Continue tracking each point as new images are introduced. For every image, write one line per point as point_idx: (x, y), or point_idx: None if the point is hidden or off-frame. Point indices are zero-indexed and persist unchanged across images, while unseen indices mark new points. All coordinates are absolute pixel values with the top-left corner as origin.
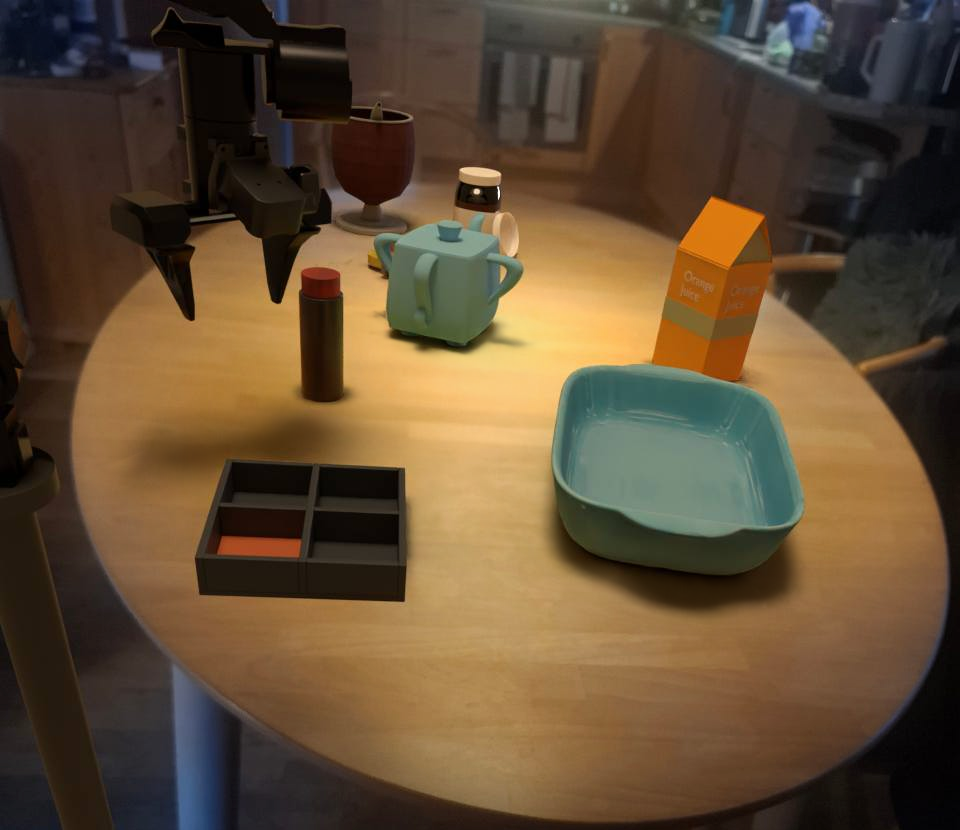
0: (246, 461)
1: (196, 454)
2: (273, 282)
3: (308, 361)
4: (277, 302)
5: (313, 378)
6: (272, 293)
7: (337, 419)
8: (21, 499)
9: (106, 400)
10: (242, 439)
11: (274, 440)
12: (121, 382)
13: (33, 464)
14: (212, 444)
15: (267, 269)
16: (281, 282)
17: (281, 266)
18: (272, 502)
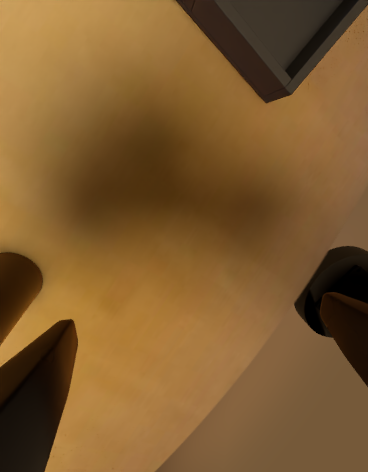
0: (277, 65)
1: (237, 210)
2: (56, 381)
3: (14, 300)
4: (71, 322)
5: (21, 280)
6: (70, 355)
7: (32, 202)
8: (354, 251)
9: (239, 352)
10: (175, 216)
11: (143, 194)
12: (206, 379)
13: (323, 292)
14: (210, 222)
15: (47, 443)
16: (37, 359)
17: (3, 418)
18: (251, 28)
